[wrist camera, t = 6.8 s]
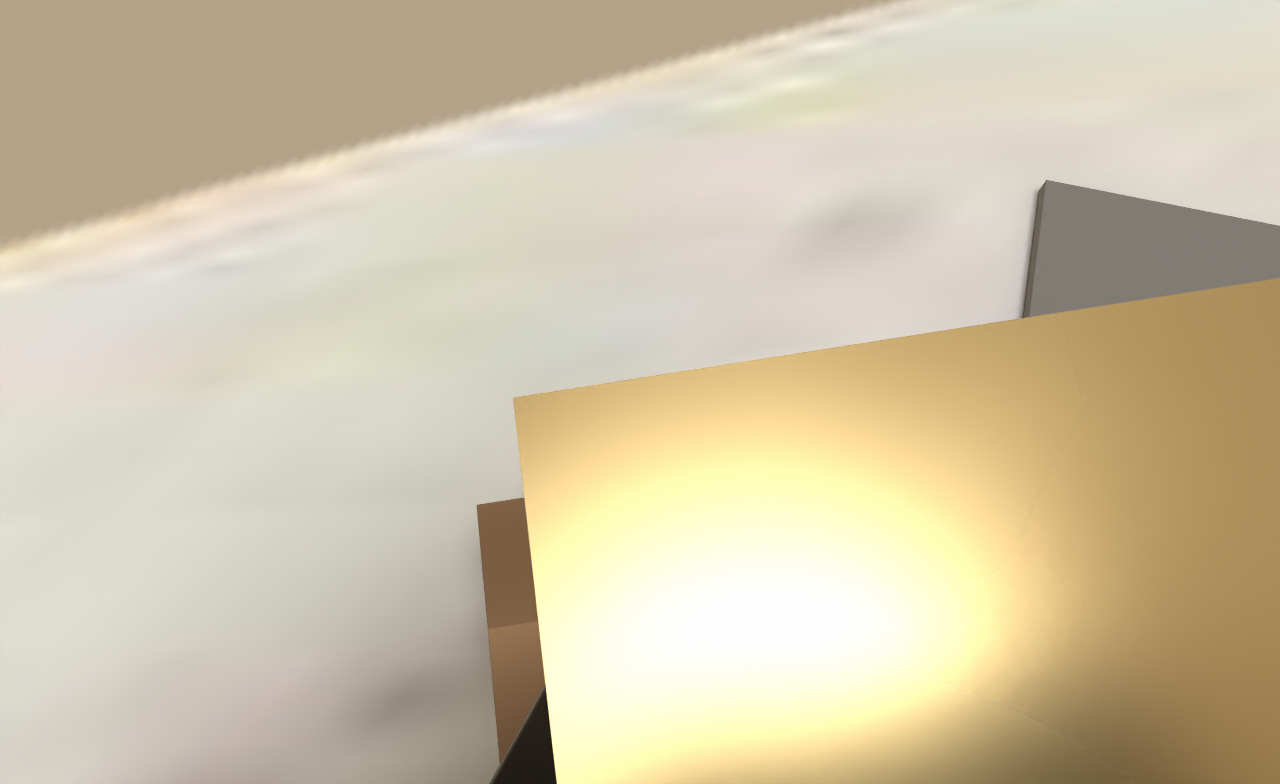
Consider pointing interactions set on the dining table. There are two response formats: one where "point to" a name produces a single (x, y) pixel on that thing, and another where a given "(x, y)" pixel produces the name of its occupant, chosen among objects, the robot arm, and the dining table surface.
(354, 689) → the dining table surface
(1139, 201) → the mat
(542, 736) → the robot arm
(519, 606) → the socket block
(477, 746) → the dining table surface
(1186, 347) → the pin
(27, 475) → the dining table surface
